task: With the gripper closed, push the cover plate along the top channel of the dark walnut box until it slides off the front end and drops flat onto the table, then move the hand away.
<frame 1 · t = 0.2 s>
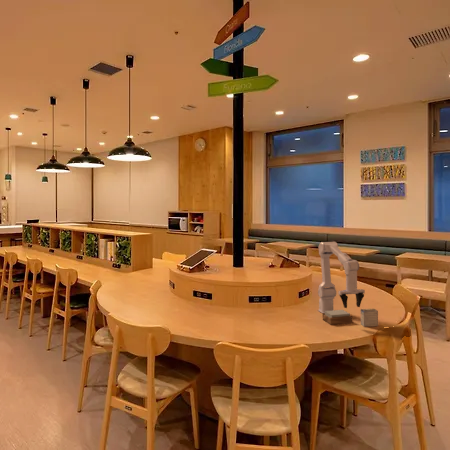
hand: (351, 307, 196), 10 cm above the table, tool pointing down, fingers open, 7 cm apart
medicine box: (369, 325, 195), on the table
cover plate: (337, 315, 203), point 3 cm above the table, touching walnut box
walnut box: (337, 321, 203), on the table
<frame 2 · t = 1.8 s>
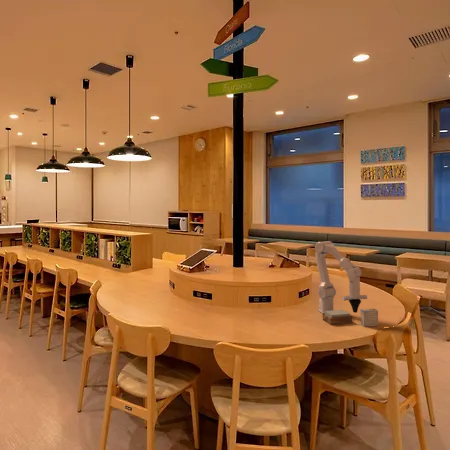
hand: (355, 312, 205), 4 cm above the table, tool pointing down, fingers closed
nothing on the table moved.
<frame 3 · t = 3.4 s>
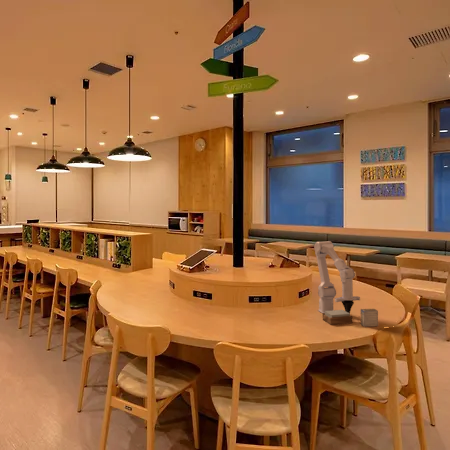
hand: (347, 313, 204), 4 cm above the table, tool pointing down, fingers closed
cover plate: (337, 315, 203), point 3 cm above the table, touching gripper, walnut box
everything else where it was.
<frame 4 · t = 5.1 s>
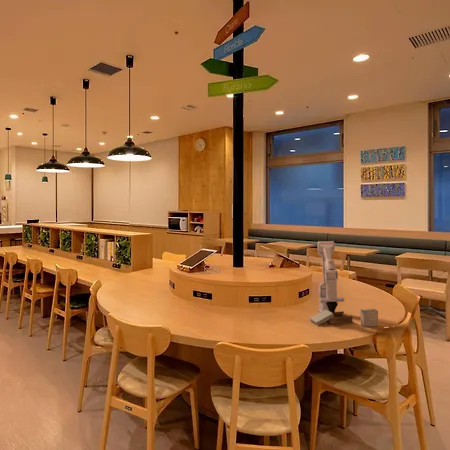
hand: (331, 314, 202), 4 cm above the table, tool pointing down, fingers closed
cover plate: (322, 318, 201), point 2 cm above the table, tilted 23°, touching gripper
everything else where it was.
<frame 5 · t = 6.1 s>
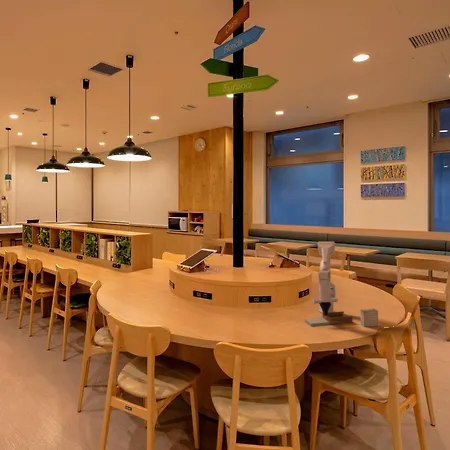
hand: (325, 315, 202), 4 cm above the table, tool pointing down, fingers closed
cover plate: (317, 324, 201), on the table
everything else where it was.
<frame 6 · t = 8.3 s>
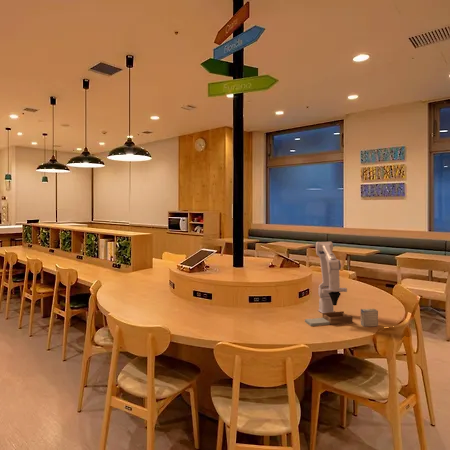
hand: (334, 305, 203), 9 cm above the table, tool pointing down, fingers closed
nothing on the table moved.
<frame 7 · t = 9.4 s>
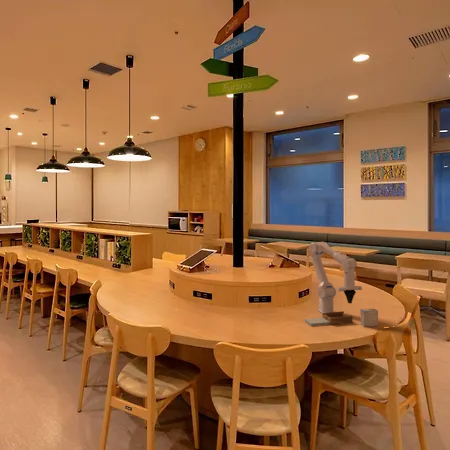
hand: (349, 303, 206), 9 cm above the table, tool pointing down, fingers closed
nothing on the table moved.
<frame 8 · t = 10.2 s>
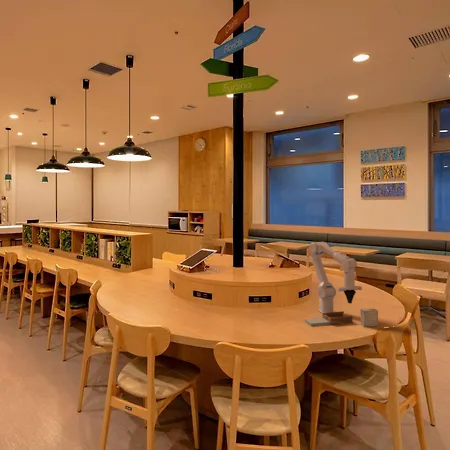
hand: (349, 303, 206), 9 cm above the table, tool pointing down, fingers closed
nothing on the table moved.
at the end: cover plate inside the target area (6.4 cm from its centre), on the table; cover plate touching table; cover plate tilted 0° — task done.
